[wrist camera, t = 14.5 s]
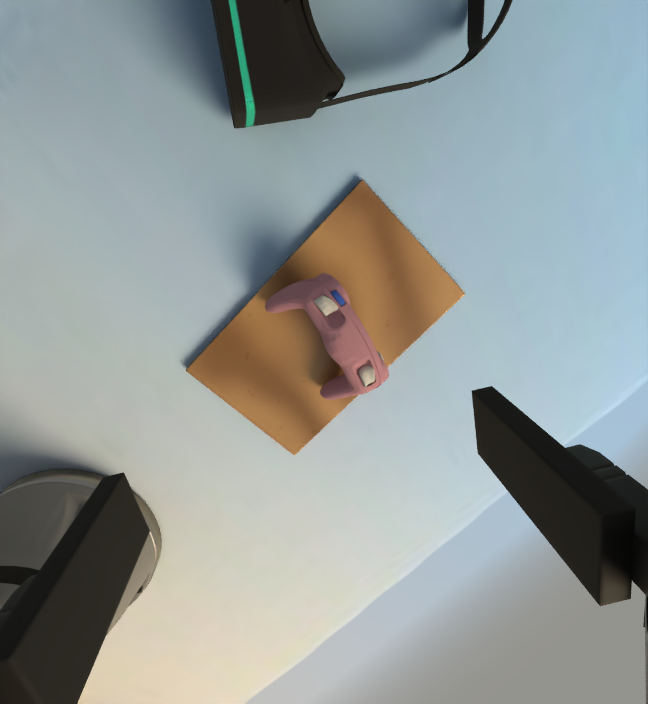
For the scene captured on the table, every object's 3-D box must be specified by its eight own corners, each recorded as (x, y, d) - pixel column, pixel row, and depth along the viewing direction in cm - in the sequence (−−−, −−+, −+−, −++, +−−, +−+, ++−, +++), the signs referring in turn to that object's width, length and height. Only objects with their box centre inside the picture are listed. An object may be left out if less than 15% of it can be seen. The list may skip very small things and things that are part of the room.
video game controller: (359, 368, 36) (411, 379, 30) (320, 401, 34) (366, 419, 28) (301, 270, 33) (345, 258, 26) (255, 301, 31) (291, 297, 25)
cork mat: (294, 452, 37) (294, 455, 36) (186, 368, 34) (185, 370, 33) (463, 292, 33) (465, 293, 33) (361, 180, 30) (362, 179, 29)
